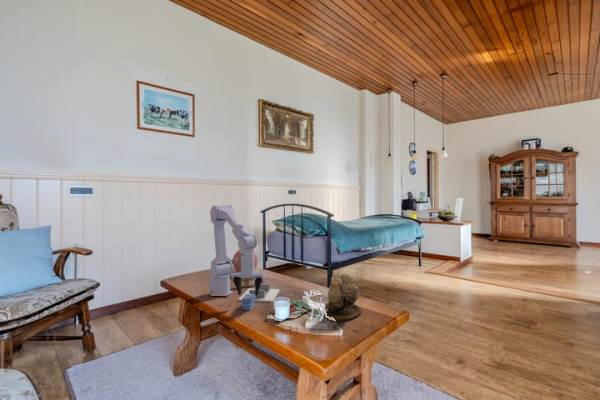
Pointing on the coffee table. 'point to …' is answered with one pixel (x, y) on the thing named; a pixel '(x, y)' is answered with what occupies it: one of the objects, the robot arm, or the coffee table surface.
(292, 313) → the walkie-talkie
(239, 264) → the balloon
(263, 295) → the pocket plate
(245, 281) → the lion figurine
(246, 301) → the block
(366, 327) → the coffee table surface
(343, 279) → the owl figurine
